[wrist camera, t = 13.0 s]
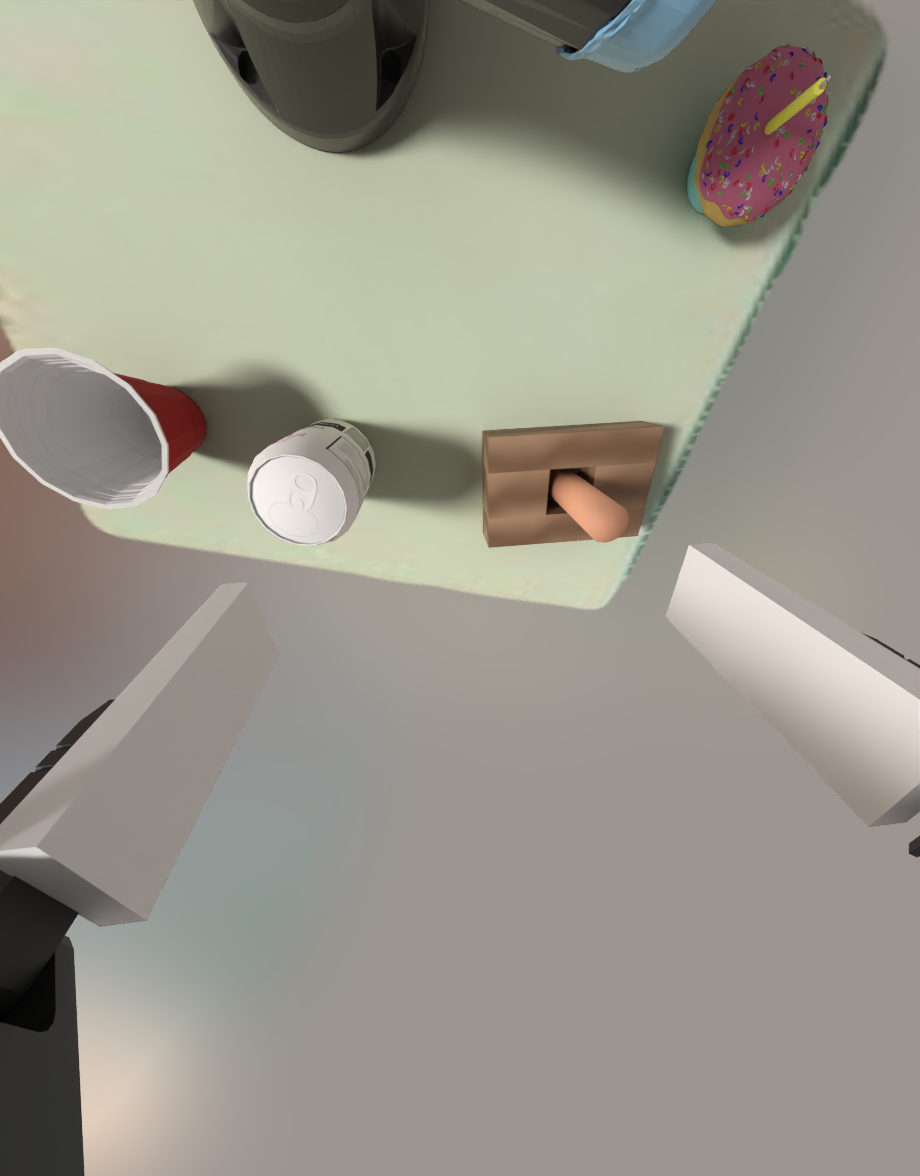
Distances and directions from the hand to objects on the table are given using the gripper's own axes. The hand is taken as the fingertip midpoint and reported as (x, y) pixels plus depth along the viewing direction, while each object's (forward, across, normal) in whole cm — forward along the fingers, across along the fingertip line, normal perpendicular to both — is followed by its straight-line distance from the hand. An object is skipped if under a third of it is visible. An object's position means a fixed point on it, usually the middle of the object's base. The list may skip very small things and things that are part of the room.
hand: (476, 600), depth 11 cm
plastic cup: (+33, -26, +3) cm, 42 cm away
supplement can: (+33, -11, -2) cm, 35 cm away
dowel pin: (+33, +14, -6) cm, 36 cm away
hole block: (+33, +14, -6) cm, 36 cm away
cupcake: (+33, +25, +19) cm, 45 cm away
